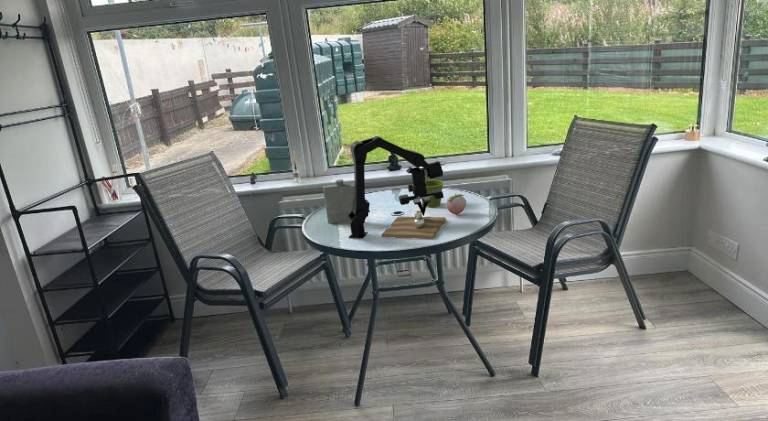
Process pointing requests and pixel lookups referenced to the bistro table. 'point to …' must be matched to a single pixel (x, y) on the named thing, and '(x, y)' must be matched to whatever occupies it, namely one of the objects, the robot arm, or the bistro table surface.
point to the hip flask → (339, 201)
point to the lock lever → (419, 219)
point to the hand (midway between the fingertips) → (423, 215)
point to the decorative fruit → (456, 204)
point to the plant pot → (434, 186)
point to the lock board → (414, 228)
